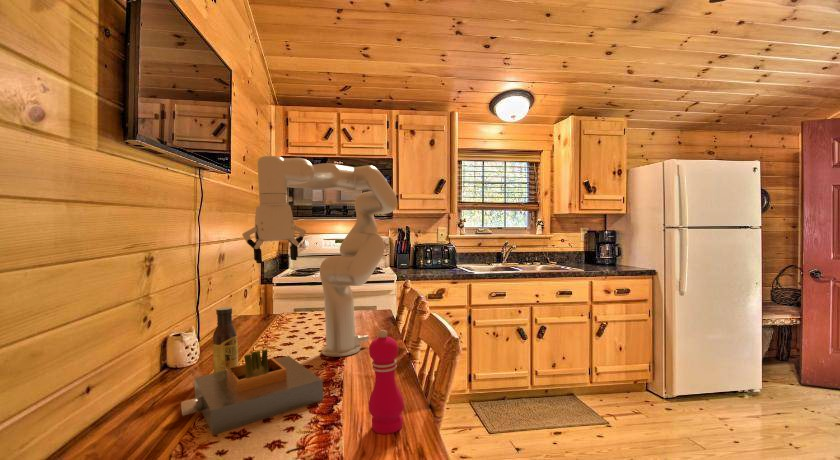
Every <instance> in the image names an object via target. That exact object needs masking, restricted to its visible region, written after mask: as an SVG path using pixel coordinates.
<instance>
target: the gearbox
mask: <svg viewBox="0 0 840 460" xmlns="http://www.w3.org/2000/svg"><path fill="white" fill-rule="evenodd" d="M267 360H268V371H269V372H268V373H264V374H260V375H256V376H252V377H248V378H245V377H246V365H245V363H244V364H238V366H234V367H230V368H226V370H225V371H221V372H217V373H214V372H213V373H212V372H211V373H208V374H205V375H200V376H196V377H193V383H194V384H193V385H194V398H192V399H185V400H184V401H181V403H180V407H181V409H180V410H181V415H182V417H184V416H188V415H191V414H194V413H197V412H201V413H202V415H203V417H204V419H205V422H206V425H207V426H208V428H209V431H210V433H211V434H212V435H214V436H215V435H216V434H220V433H222V432H226V431H230V430H232V429H233V430H234V429H236V428H239V427H242V426H246V425H248V424H252V423H255V422H258V421H262V420H265V419H267V418H271V417H275V416H277V415H281V414H283V413H286V412H287V413H288V412H291V411H293V410H297V409H300V408H303V407H307V406H310V405H314V404H316V403H320V402H323V401H324V390H323V389H324V388H323V387H324V386H323V379H322V378H321V377H319V376H318V375H316V374H315V373H313V371H311V370H309V369H308V368H307V367H305V366H304V365H303V364H302V363H299V362H298V361H297V360H295V359H294V358H293V357H291V356H290V355H287V356H283V357H279V358H278V357H277V358H274V357H270V358H267ZM261 362H262V359H261Z"/></svg>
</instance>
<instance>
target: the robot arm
mask: <svg viewBox="0 0 840 460" xmlns="http://www.w3.org/2000/svg"><path fill="white" fill-rule="evenodd" d="M257 178H258V179H257V181H258V197H259V199H258V201H259V202H258V203H259V205H257V206H255V207H256V208H255V216H254V226H253V227H252V228H250V229H248V230H247V231H244V232H243V233H242V237H243V239H244V240H245V242H246V244H247V245H249V246H250V247H251V248H252V249H253V260H254V262H255V263H256V264H262V263H263V261H262V259H263V257H262V256H263V254H262V249H261V246H262V244H263V243H264V242H277V241H280V242H281V241H288V242H289V243H290V246H289V252H290V253H289V254H290V255H289V256H290V260H292V261H297V258H298V256H299V253H298V251H299V250H298V247H299V245H300V244H301V242H302V241H303V240H304V237H305V235H306V233H307V232H306V230H305V229H303V228H301V227H300V226H297V225H295V223H294V216H293V212H292V211H293V210H292V207H291V205H290V204H289V202H293V196H289V194H288V188H291V189H292V188H294V189H311V190H312V189H314V190H333V191H342V192H351V193H352V192H355V193H356V192H361V193H359V194H358V195H357V196H356V197H355V200H354V209H355V215H356V220H355V223H354V225H353V227H352V228H351V229H350V231H348V234H347V235H346V236H345V238H344V239H343V240H342V242H341V244H340V247H339V253H340V255H332V256H328V257H327V258H324V259H323V261H321V263H320V266H319V277H320V281H321V284H322V291H323V301H324V323H325V343H326V345H325V346H324V347H322V349H321V354H322V355H323V356H326V357H331V358H332V357H337V358H338V357H345V356H352V355H353V354H356V353H358V352H360V350H361V345H360V343H362V342H367V341H369V340H370V338H369V334H365V335H361V334H358V335H357V334H356V325H355V324H356V322H355V319H356V318H355V305H354V304H355V301H354V300H355V299H354V298H355V297H354V294H353V293H354V292H353V291H352V289H351V286H352V287H360V286H362V285H364V284H365V283H367V282H368V281H369V279H370V278H371V277H372V275H373V273H374V272H375V270H376V268H377V267H378V265H379V263H380V262H381V261H382V259H383V257H384V253H385V248H386V247H385V246H386V245H385V241H384V239H383V237H382V236H381V235H380V234H378V231H379V230H378V224H377V221H376V218H375V215H383V214H387V215H388V214H390V213H393V212H394V211H395V210H396V208H397V207H398V198H397V196H396V192H395V191H394V190H393V188H392V187H391V185H390V184H389V182H388V181H387V179H386V178H385V176H384V175H383V173H382V172H381V171H380V170H379V169H378V168H377V167H376V166H374V165H372V164H371V165H362V166H350V165H344V164H343V165H342V164H336V163H332V162H331V163H329V162H328V163H324V162H323V163H318V164H317V163H316V164H315V163H314V164H312V163H311V162H310V161H309V160H307V159H306V158H302V157H290V158H289V157H282V156H278V155H266V156H265V155H264V156H260V157H259V158H258V159H257ZM363 191H364V192H363ZM295 233H298V236H297V237H296V238H295V235H296V234H295ZM253 234H254V239H255V241H254V240H253V239H252V238H251V235H253Z"/></svg>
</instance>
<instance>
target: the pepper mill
mask: <svg viewBox="0 0 840 460" xmlns="http://www.w3.org/2000/svg"><path fill="white" fill-rule="evenodd" d="M368 355H369V357H370V358H371V359H372V362H371V365H372V367H371V368H372V370H373V371H374V375H375V379H374V380H375V381H374V386H373V388H372V392H371V394H370V397H369V400H368V411H369V414H370V415H371V416H372V418H371V429H372V431H374V432H375V433H377V434H380V435H390V434H394V433H397V432H399V431H400V430H401V429H402V427H403V416H402V413H403V411H404V408H405V402H404V398H403V395H402V392H401V390H400V389H399V387H398V385H397V381H396V377H395V371H396V369H397V367H398V365H397V360H396V358H397V357H398V355H399V345H398V343H397V341H396V340H395V339H394V338H392V337H390V336H388V331H387V330H385V329H380V330H379V332H378V337H376V338H374V339H373V340H372V341H371V343H370V344H369V349H368Z"/></svg>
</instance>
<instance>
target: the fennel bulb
mask: <svg viewBox="0 0 840 460" xmlns="http://www.w3.org/2000/svg"><path fill="white" fill-rule="evenodd" d="M267 359H268V348H265V349H262V350H256V351H251V353H246V354H245V355H244V364H245V365H246V377H245V378H248V377H252V376H256V375H260V374H264V373H268V372H269V371H268V360H267ZM261 360H262V362H261Z"/></svg>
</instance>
